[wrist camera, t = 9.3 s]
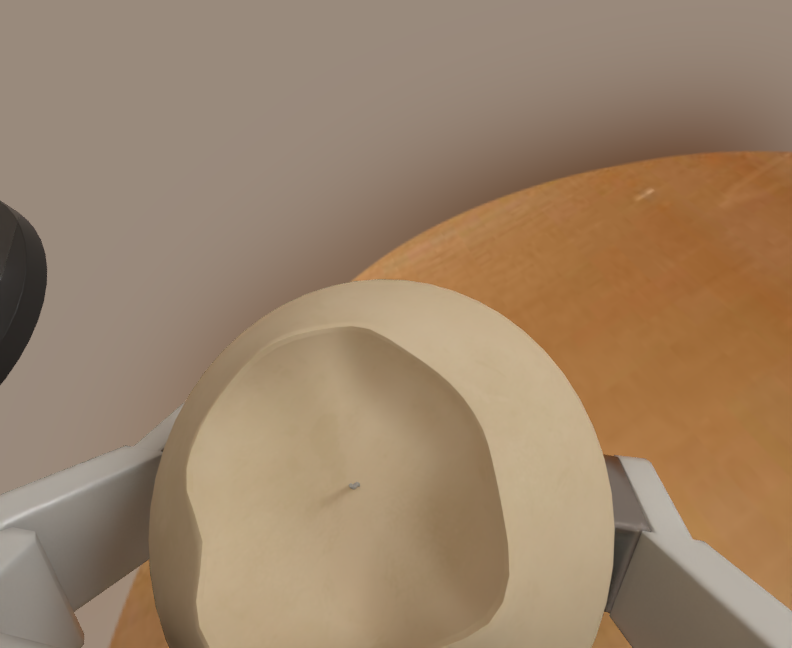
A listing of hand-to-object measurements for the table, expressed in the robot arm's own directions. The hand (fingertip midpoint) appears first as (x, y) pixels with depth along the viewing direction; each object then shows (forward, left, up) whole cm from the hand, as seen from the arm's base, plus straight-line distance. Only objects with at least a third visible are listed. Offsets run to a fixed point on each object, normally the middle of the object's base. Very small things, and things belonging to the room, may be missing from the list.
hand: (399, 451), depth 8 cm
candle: (0, -1, -6) cm, 6 cm away
